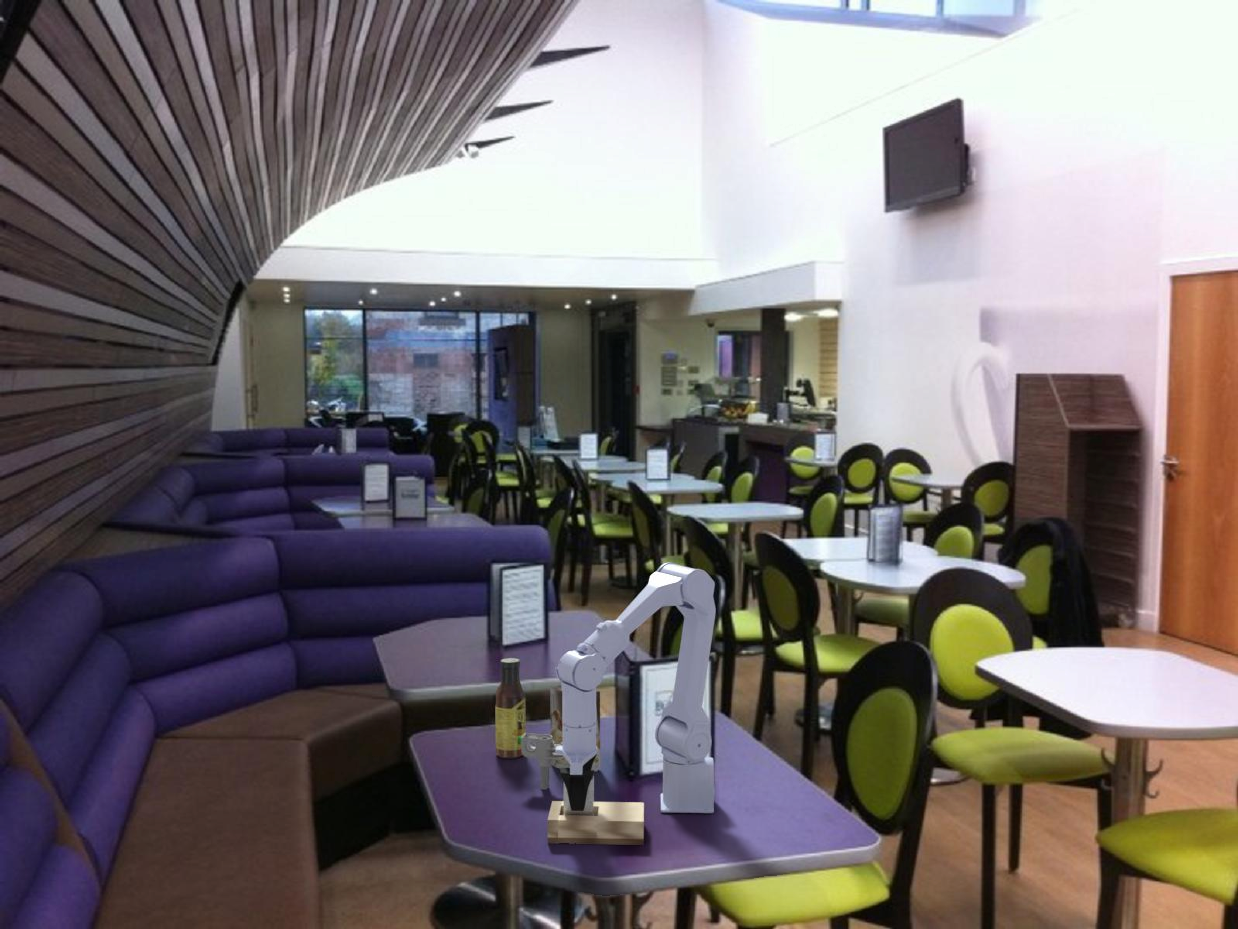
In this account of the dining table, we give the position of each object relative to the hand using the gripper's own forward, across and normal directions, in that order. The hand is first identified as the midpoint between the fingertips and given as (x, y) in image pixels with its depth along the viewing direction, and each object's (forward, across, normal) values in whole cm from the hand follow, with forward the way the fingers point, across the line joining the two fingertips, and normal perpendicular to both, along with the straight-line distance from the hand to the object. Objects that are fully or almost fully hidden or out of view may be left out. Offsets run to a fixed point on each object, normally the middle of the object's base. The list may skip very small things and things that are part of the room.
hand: (579, 801), depth 176 cm
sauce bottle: (+6, -38, -17) cm, 42 cm away
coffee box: (+6, -31, -3) cm, 32 cm away
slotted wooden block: (+6, 0, +3) cm, 6 cm away
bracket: (+5, 0, 0) cm, 5 cm away
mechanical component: (+6, -20, -8) cm, 22 cm away
